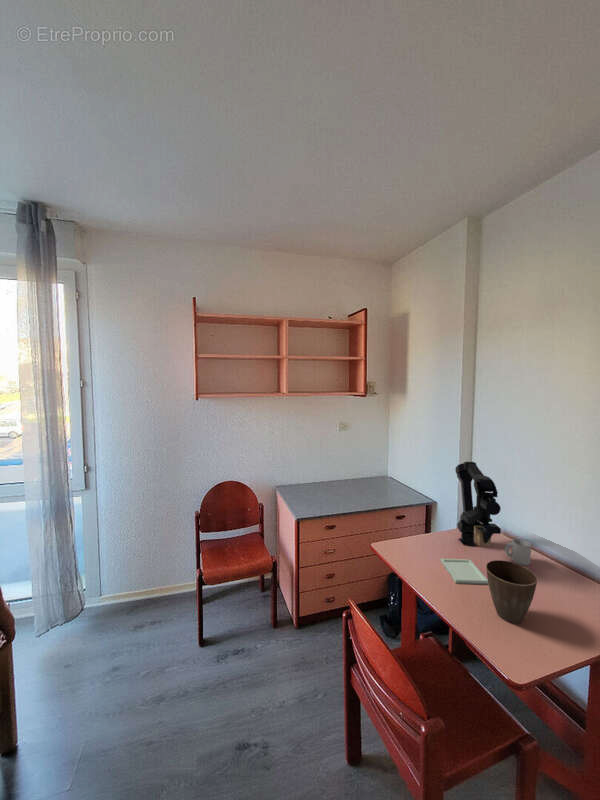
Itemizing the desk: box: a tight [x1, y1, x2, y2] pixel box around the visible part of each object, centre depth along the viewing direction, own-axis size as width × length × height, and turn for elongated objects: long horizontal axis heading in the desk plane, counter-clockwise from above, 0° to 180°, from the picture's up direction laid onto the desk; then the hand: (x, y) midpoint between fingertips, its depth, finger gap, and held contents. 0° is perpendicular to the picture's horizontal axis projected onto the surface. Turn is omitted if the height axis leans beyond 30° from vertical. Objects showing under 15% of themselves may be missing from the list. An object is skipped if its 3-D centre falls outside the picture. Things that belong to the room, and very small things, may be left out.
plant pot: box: [485, 559, 538, 624], centre depth 113 cm, size 15×15×16 cm
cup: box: [504, 538, 532, 566], centre depth 149 cm, size 7×10×9 cm
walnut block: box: [474, 526, 492, 547], centre depth 147 cm, size 5×5×7 cm
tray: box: [440, 558, 489, 586], centre depth 140 cm, size 16×13×2 cm
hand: (482, 540), depth 147 cm, fingers closed on walnut block, 5 cm apart
